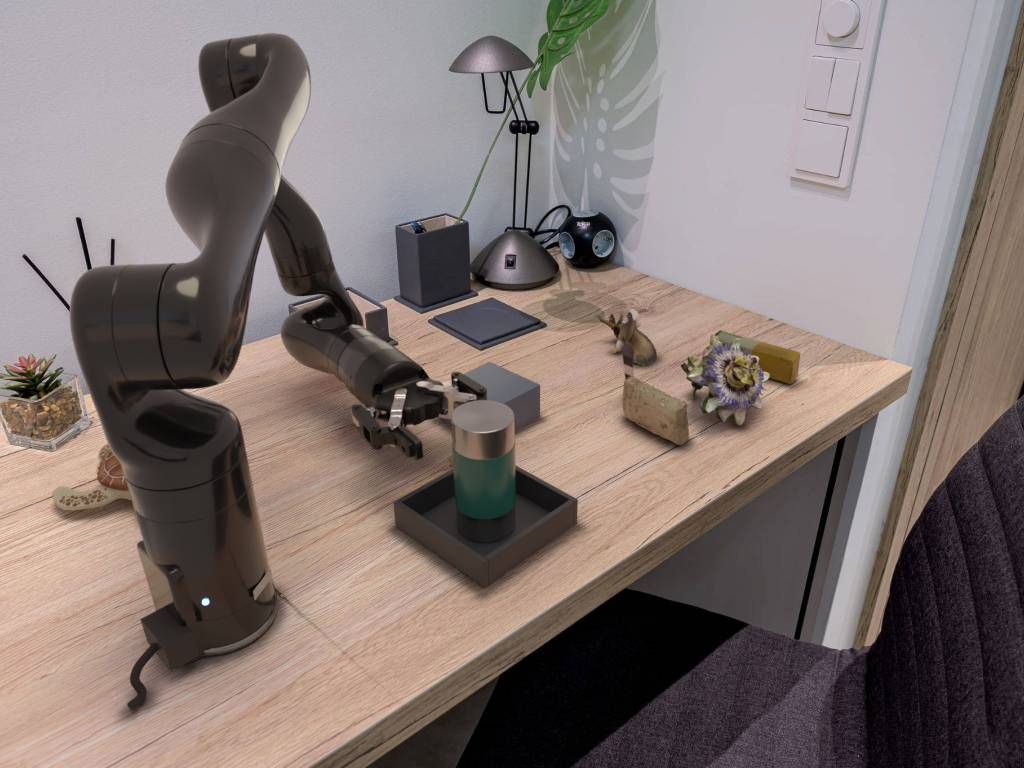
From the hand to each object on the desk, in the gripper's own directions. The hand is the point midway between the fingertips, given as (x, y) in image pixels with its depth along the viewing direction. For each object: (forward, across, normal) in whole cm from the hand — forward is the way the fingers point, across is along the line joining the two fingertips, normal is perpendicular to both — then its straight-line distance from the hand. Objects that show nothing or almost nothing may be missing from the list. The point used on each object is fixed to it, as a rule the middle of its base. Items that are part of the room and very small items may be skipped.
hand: (456, 437), depth 84 cm
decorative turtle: (-24, -26, +8) cm, 37 cm away
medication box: (-1, +49, +8) cm, 49 cm away
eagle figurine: (-16, +39, +8) cm, 43 cm away
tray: (+5, 0, +8) cm, 10 cm away
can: (+5, 0, +8) cm, 9 cm away
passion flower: (+3, +37, +8) cm, 38 cm away
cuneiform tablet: (0, +28, +9) cm, 29 cm away
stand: (-12, +12, +8) cm, 19 cm away
